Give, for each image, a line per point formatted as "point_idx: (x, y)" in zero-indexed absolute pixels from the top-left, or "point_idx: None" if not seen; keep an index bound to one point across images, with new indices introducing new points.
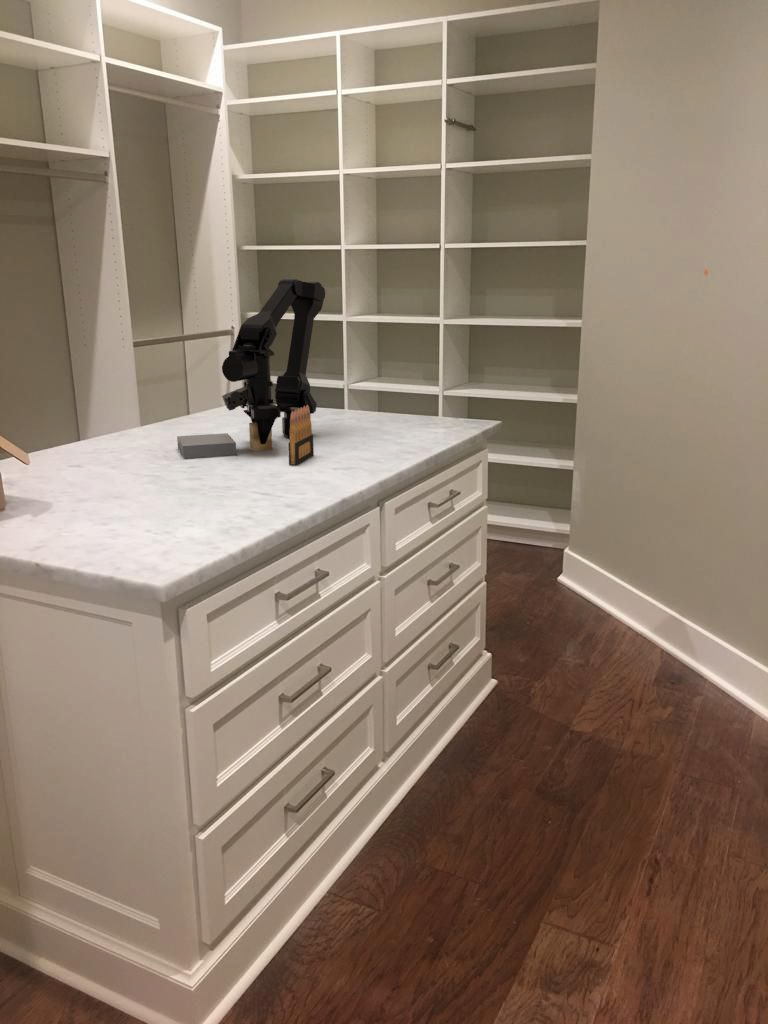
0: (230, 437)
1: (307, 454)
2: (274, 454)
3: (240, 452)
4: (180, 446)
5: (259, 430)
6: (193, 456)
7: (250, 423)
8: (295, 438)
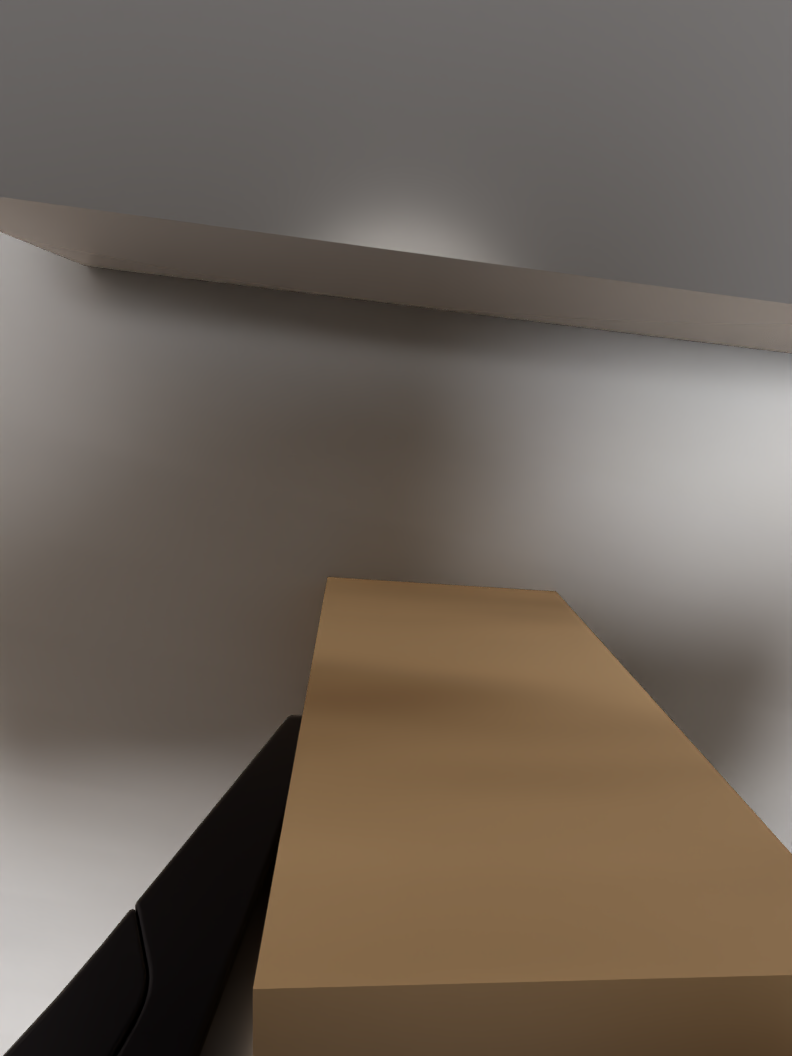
0: (612, 258)
1: None
2: (41, 729)
3: (288, 390)
4: None
5: (105, 953)
6: None
7: (756, 988)
8: None
